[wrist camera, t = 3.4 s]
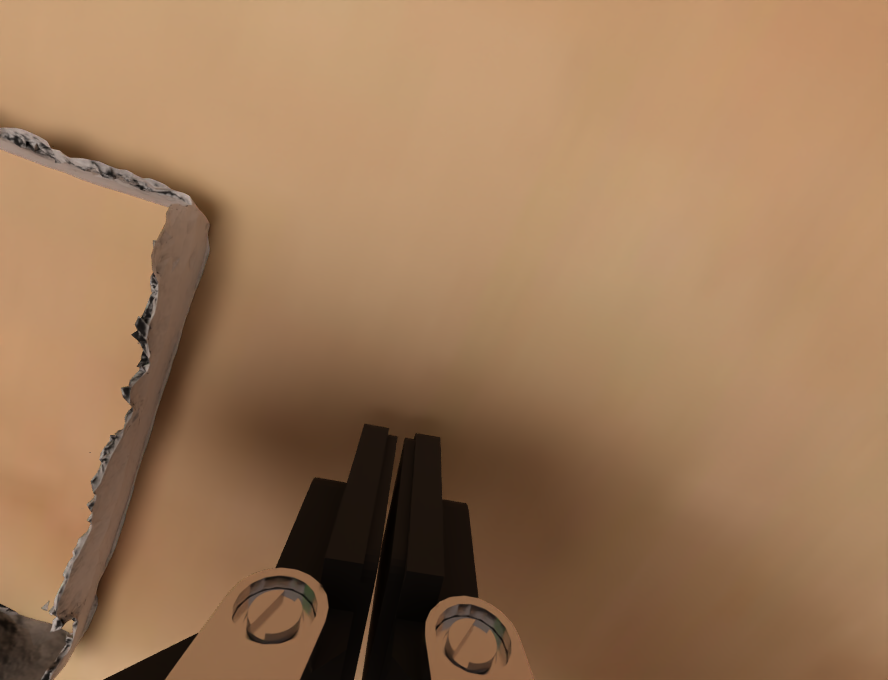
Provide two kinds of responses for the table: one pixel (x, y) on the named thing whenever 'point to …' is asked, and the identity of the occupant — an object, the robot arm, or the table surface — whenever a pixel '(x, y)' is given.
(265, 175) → the table surface
